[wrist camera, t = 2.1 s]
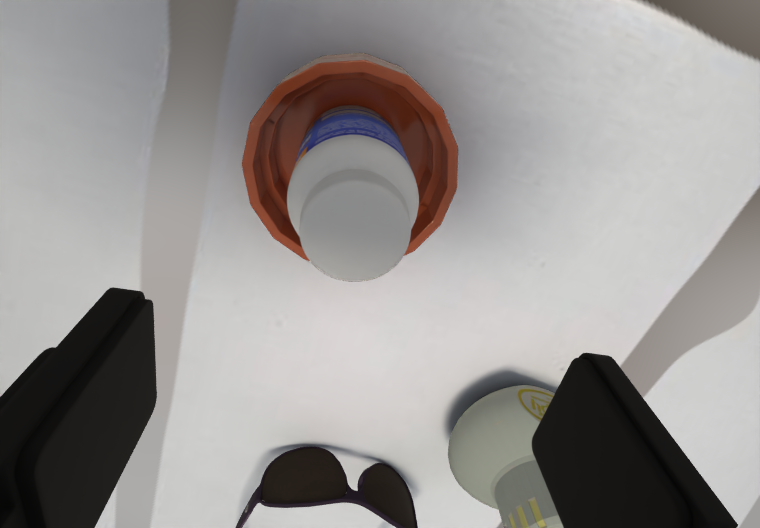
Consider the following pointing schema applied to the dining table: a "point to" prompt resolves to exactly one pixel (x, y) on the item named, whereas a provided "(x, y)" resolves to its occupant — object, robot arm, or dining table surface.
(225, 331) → the dining table surface
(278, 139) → the bowl
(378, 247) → the pill bottle
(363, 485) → the sunglasses
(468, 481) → the air freshener
